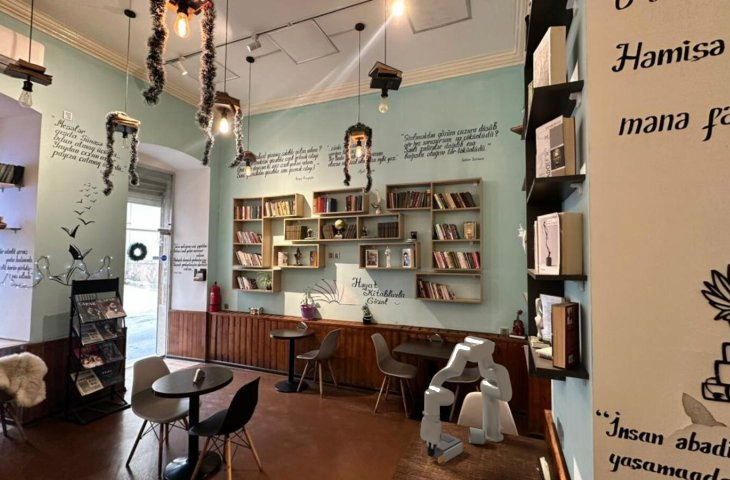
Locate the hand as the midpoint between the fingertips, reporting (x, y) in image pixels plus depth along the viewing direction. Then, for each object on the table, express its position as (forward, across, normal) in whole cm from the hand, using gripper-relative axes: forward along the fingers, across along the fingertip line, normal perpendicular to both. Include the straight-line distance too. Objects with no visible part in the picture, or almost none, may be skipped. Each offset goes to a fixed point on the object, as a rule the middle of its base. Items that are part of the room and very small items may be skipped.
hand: (431, 455), depth 163 cm
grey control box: (+2, 0, +11) cm, 12 cm away
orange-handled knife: (+2, +6, +9) cm, 11 cm away
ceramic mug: (+2, +7, +34) cm, 35 cm away
